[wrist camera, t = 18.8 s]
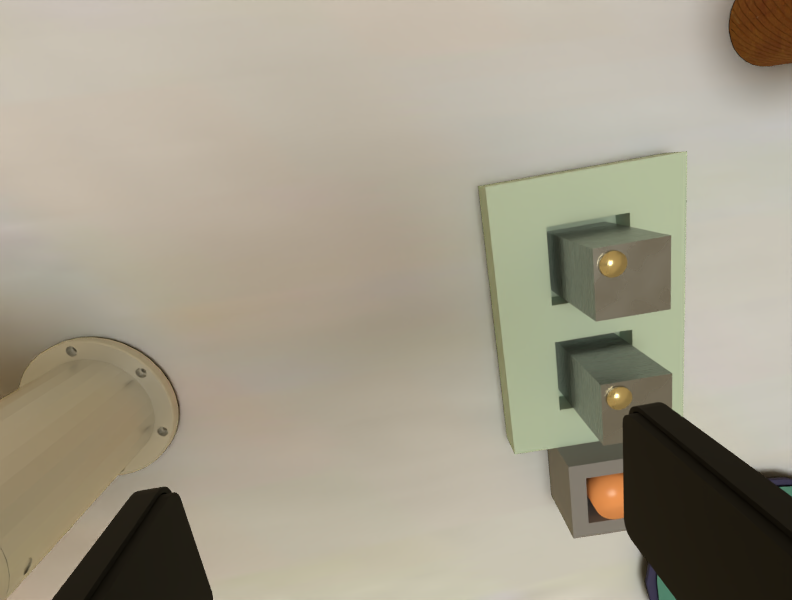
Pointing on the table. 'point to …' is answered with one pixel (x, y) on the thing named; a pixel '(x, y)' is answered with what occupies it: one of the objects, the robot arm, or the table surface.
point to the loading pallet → (575, 309)
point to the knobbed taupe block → (611, 269)
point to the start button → (607, 495)
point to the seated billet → (609, 382)
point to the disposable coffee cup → (762, 31)
